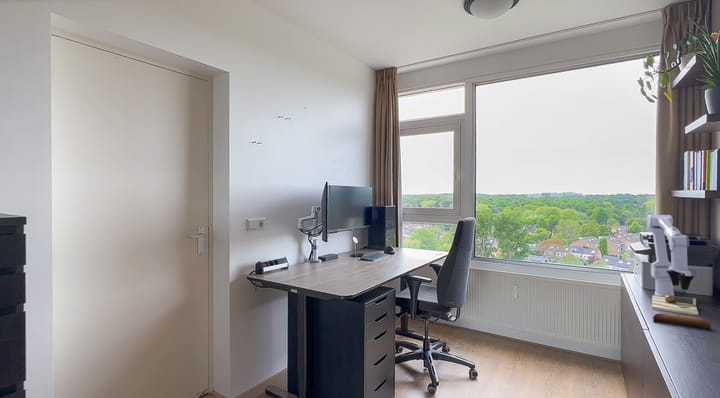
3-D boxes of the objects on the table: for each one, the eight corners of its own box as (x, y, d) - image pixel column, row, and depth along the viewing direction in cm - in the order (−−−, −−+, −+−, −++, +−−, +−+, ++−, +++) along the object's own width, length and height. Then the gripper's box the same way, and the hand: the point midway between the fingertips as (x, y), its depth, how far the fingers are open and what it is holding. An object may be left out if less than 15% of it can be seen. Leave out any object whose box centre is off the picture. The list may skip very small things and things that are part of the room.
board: (652, 297, 181) (652, 295, 181) (694, 303, 170) (694, 300, 170) (652, 308, 164) (652, 306, 164) (698, 315, 154) (698, 312, 154)
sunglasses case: (705, 323, 144) (707, 312, 141) (710, 337, 139) (712, 325, 136) (650, 316, 154) (651, 306, 152) (652, 328, 150) (653, 318, 147)
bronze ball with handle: (665, 301, 169) (665, 296, 169) (665, 299, 172) (664, 294, 172) (696, 305, 162) (696, 299, 162) (695, 303, 165) (695, 297, 165)
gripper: (661, 257, 174) (662, 283, 174) (677, 262, 160) (678, 291, 160) (678, 257, 171) (679, 283, 172) (696, 262, 158) (697, 291, 158)
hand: (680, 287), depth 166 cm, fingers open, 7 cm apart
